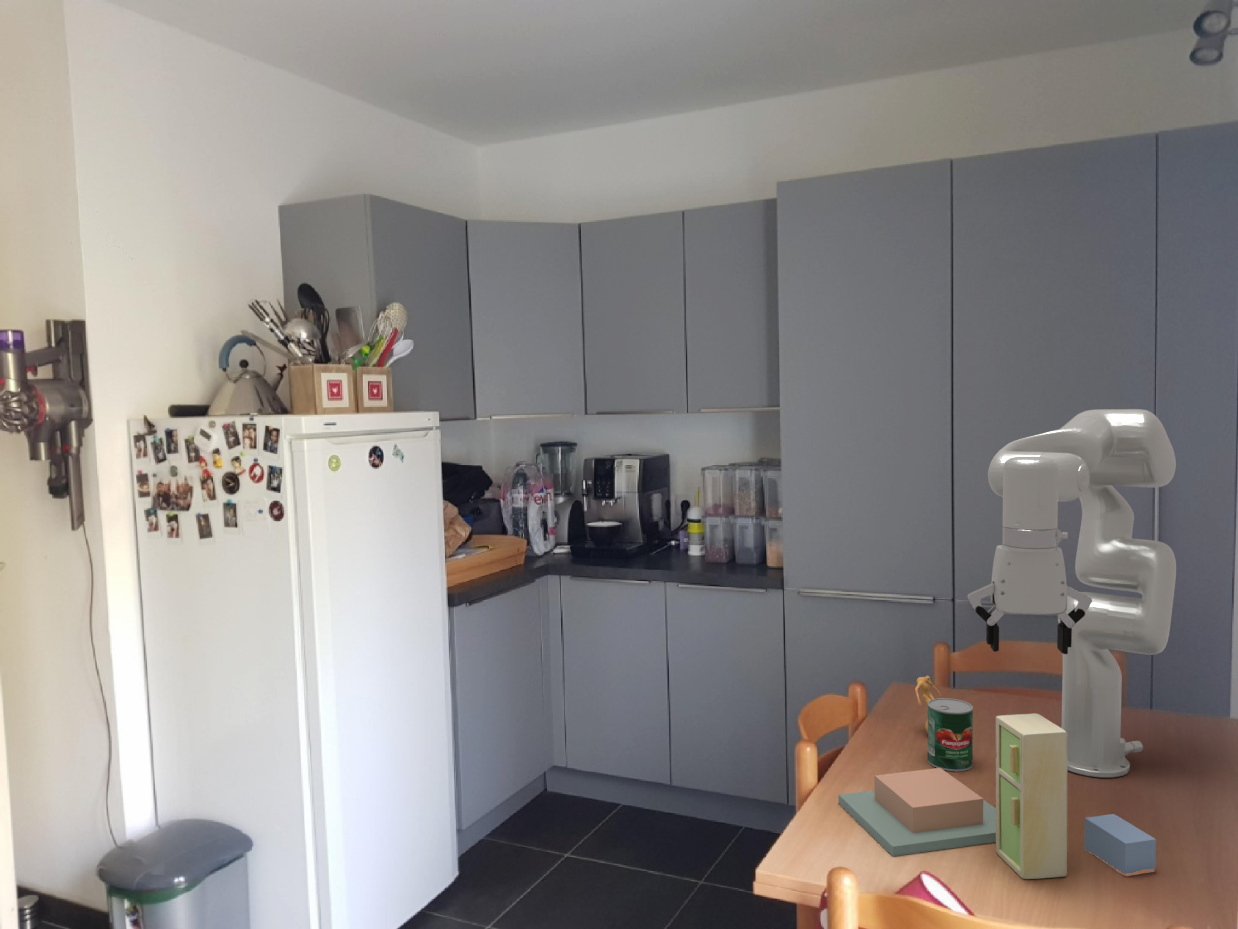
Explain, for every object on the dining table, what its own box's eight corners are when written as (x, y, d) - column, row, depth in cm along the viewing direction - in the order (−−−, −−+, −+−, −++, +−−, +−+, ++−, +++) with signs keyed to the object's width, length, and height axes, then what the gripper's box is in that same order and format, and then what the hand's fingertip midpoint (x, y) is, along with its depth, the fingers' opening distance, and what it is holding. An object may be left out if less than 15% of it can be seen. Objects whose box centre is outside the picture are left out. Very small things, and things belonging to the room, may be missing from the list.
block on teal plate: (956, 788, 156) (956, 757, 155) (1024, 838, 138) (1024, 803, 138) (838, 803, 151) (838, 771, 151) (892, 856, 133) (892, 820, 133)
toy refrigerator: (989, 852, 134) (990, 715, 132) (1036, 849, 135) (1038, 712, 133) (1017, 881, 126) (1019, 735, 124) (1067, 877, 127) (1070, 732, 125)
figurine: (935, 745, 175) (935, 684, 174) (906, 737, 179) (906, 678, 178) (955, 733, 180) (955, 675, 180) (927, 726, 185) (927, 668, 184)
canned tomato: (949, 751, 172) (949, 695, 171) (982, 766, 164) (982, 708, 164) (917, 759, 168) (918, 702, 167) (950, 775, 161) (950, 715, 160)
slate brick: (1113, 846, 135) (1113, 814, 135) (1155, 873, 128) (1156, 839, 127) (1084, 850, 134) (1084, 817, 134) (1124, 878, 127) (1125, 843, 126)
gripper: (1084, 535, 137) (1082, 645, 138) (964, 534, 141) (963, 641, 142) (1100, 543, 130) (1097, 660, 131) (972, 542, 133) (971, 655, 135)
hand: (1028, 650), depth 137 cm, fingers open, 9 cm apart
